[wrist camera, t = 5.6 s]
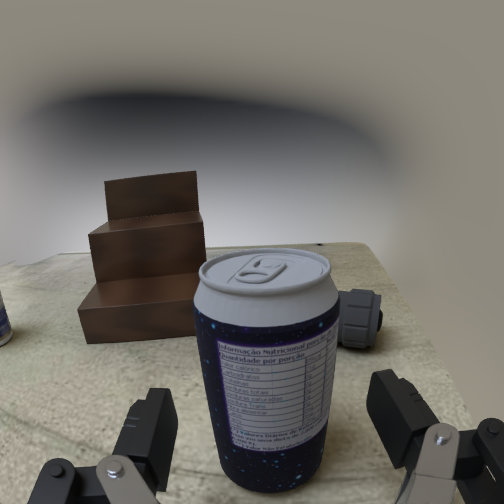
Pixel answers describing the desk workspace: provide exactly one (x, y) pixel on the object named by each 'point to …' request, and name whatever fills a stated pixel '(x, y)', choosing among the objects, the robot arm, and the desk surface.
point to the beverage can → (268, 362)
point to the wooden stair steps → (145, 260)
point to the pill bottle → (4, 324)
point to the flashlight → (359, 318)
